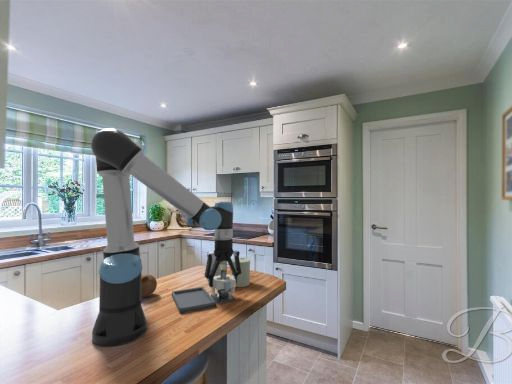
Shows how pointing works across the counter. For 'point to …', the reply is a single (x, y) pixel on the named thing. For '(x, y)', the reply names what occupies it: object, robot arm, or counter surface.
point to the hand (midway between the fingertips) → (223, 292)
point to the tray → (192, 299)
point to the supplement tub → (218, 266)
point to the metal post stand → (223, 294)
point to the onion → (148, 285)
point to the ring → (224, 282)
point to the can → (243, 272)
